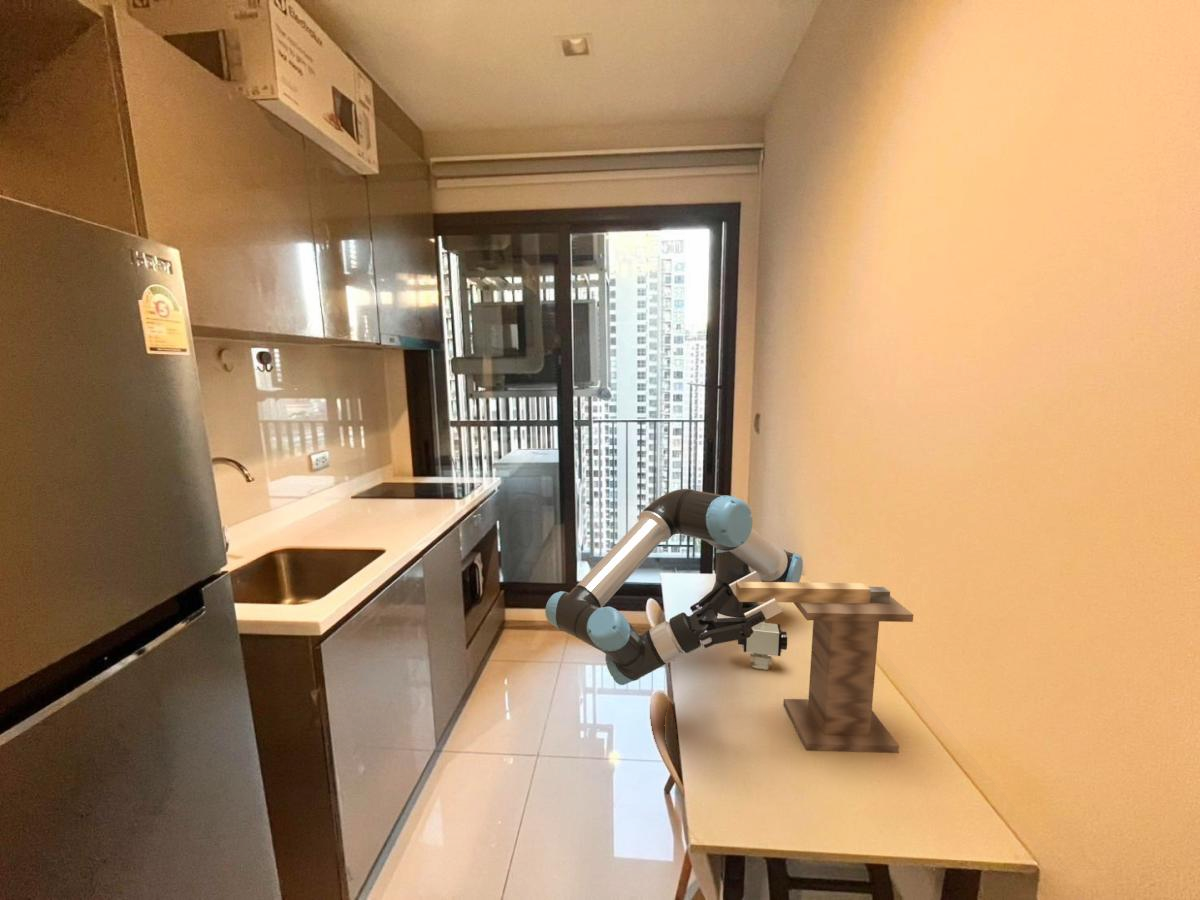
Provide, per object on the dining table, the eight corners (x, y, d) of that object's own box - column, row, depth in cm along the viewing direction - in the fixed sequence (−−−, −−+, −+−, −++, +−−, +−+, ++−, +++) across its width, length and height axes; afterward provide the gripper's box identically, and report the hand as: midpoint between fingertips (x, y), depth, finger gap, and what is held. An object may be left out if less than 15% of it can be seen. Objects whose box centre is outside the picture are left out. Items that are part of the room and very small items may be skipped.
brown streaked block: (739, 601, 102) (739, 587, 101) (735, 595, 105) (736, 581, 104) (890, 603, 101) (891, 589, 100) (882, 597, 104) (883, 583, 103)
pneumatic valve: (785, 674, 125) (788, 629, 124) (737, 668, 128) (738, 624, 126) (783, 662, 131) (785, 619, 129) (736, 656, 133) (738, 614, 132)
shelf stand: (801, 750, 100) (809, 615, 96) (778, 704, 114) (785, 585, 110) (903, 752, 99) (916, 617, 95) (868, 706, 113) (878, 586, 109)
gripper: (678, 622, 117) (759, 580, 115) (693, 688, 93) (797, 636, 90) (662, 596, 117) (744, 553, 114) (674, 655, 92) (778, 601, 90)
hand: (768, 589), depth 102 cm, fingers open, 13 cm apart
